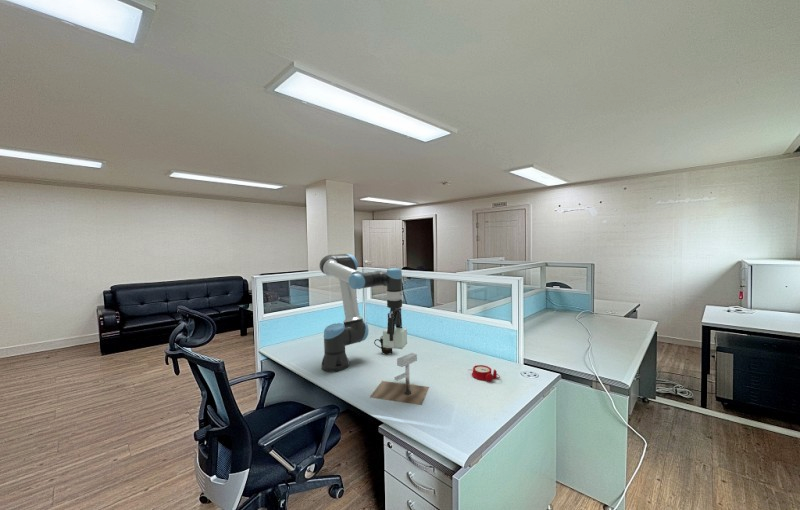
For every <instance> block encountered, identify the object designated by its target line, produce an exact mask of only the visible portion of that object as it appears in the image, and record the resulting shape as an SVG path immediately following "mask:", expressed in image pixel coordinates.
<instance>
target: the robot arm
mask: <svg viewBox="0 0 800 510" xmlns="http://www.w3.org/2000/svg"><path fill="white" fill-rule="evenodd" d="M358 265H359V264H358V261H357V258H356V257H355V256H354V255H353V254H351V253H339V254H328V255H326V256H324V257H322V258H321V260H320V261H319V269H320V271H321V273H323V274H324V275H326V276H329V277H331V276H333V277H335V278H337V279H338V281H339V286H340V294H341V299H342V306H343V311H344V321H343V322H342V323H341V322H338V323H332V324H329V325H327V326H326V327H325V328H324V330H323V349H324V350H323V351H324V354H323V358H322V361H321V369H322V370H323V371H324V372H329V371H335V372H340V371H344V370H346V369H347V368H348V367H349V366H350V365H349V358H348V356H347V354H346V346H350V345H353V344H357V343H361V342H363V341H365V340H366V339H368V335H369V325H368V324H367V322H366V321H365V320H364V319H363V317H361V315H360V309H359V303H358V298H357V292H356V290H361V289H366V288H367V289H368V288H374V287H382V286H383V287H386V299H387V300H386V305H387V306H386V307H387V308H388V309H390V310H389V312H387V327H386V328H387V334H389V347H395V334H394V329H395V327H396V328H403V322H402V320H403V319H402V307H403V300H402V298H403V294H404V293H403V275H402V273H403V271H402V269H401V268H398V267H397V268H394V267H393V268H391V267H390V268H387V269H386V271H383V270H374V271H371V272H361V271H359V270H358ZM390 331H391V332H390ZM348 365H349V366H348ZM345 368H346V369H345ZM339 370H340V371H339Z"/></svg>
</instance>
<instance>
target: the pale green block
mask: <svg viewBox="0 0 800 510" xmlns="http://www.w3.org/2000/svg"><path fill="white" fill-rule="evenodd" d="M390 332H391V331H390ZM394 334H395V347H389V334H387V327H386V328H385V329H384V330H383V331H382V335H383V347H386V348H392V349H396V350H403V349H404V348H405V347H406V345H407V344H408V329H407V328H405V327H402V328H396V326H395V329H394Z"/></svg>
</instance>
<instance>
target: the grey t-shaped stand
mask: <svg viewBox="0 0 800 510" xmlns="http://www.w3.org/2000/svg"><path fill="white" fill-rule="evenodd" d="M417 361H418V354H417V353H413V352H411V353H408V354H406V355H403V356H401V357H398V358H397V359H396V365H397V366H399V367H401V368H403V367H405V372H403V373H401V374H398V375H397V376H395V377H394V380H395V381H397V382H398V381H400V380H403V379H405V384H406V392H410V383H411V382H410V364H413V363H416V362H417Z"/></svg>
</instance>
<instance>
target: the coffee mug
mask: <svg viewBox="0 0 800 510" xmlns="http://www.w3.org/2000/svg"><path fill="white" fill-rule="evenodd" d="M379 338H380V339H379ZM379 338H377V339H375V340H374V345H375V346H376V347H378V348H380V350H381V353H382V354H383V353H384V354H383V355H390V353H391V354H392V353H393V348H386V347H383V334H382V335H380V336H379ZM376 341H378V342H379V343H380V346H379V345H377V343H376Z"/></svg>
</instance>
